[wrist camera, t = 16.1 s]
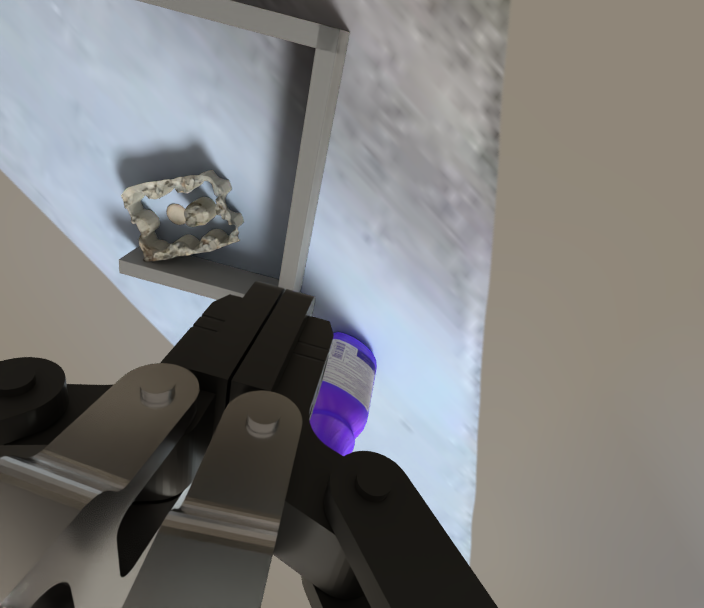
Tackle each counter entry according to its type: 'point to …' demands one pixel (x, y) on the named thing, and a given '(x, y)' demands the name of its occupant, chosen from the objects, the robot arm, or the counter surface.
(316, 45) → the box
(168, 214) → the egg carton
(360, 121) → the counter surface
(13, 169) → the counter surface
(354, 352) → the bottle
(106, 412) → the robot arm
